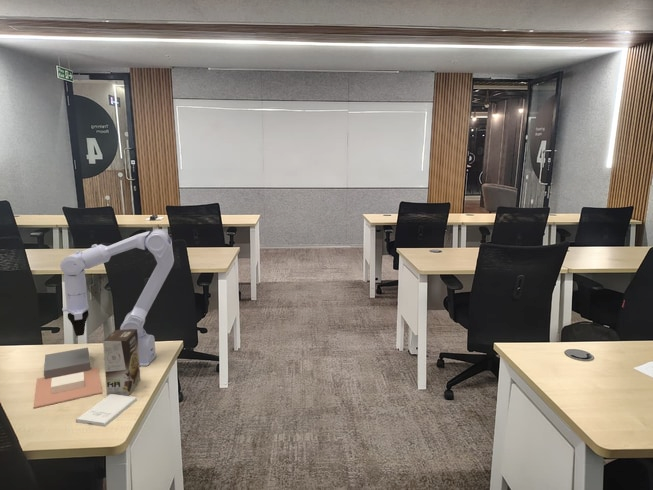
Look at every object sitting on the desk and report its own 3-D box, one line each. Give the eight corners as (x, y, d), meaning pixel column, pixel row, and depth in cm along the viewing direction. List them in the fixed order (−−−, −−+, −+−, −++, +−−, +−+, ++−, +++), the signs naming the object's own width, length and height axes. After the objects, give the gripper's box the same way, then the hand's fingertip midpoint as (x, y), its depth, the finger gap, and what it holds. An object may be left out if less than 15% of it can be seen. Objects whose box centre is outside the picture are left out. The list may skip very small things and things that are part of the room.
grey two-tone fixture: (46, 363, 139) (45, 354, 139) (88, 355, 145) (88, 347, 145) (44, 380, 128) (43, 370, 128) (90, 371, 134) (90, 362, 134)
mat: (36, 379, 129) (36, 378, 128) (97, 368, 137) (97, 366, 137) (33, 408, 113) (33, 407, 113) (102, 393, 121) (102, 392, 121)
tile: (51, 387, 120) (51, 393, 120) (84, 380, 124) (84, 386, 124) (51, 378, 125) (52, 384, 125) (83, 371, 129) (83, 378, 129)
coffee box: (130, 395, 120) (126, 340, 118) (106, 396, 120) (101, 340, 117) (141, 380, 129) (138, 328, 127) (119, 380, 129) (115, 328, 126)
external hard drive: (136, 402, 118) (105, 428, 106) (110, 399, 120) (75, 424, 108) (136, 397, 118) (104, 422, 106) (109, 393, 119) (75, 418, 107)
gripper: (61, 289, 138) (64, 329, 140) (61, 301, 126) (65, 345, 128) (86, 286, 141) (89, 326, 144) (88, 297, 129) (92, 341, 131)
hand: (79, 334), depth 136 cm, fingers closed
